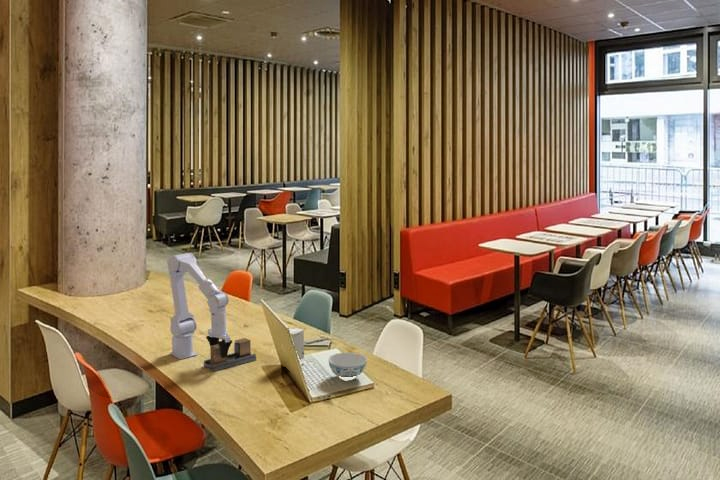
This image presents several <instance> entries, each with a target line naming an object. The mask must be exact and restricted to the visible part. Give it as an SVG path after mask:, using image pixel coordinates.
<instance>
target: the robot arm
mask: <svg viewBox="0 0 720 480" xmlns="http://www.w3.org/2000/svg"><path fill="white" fill-rule="evenodd" d="M194 255H195V254H193V253H192V252H186V253H181V254H176V255H175V254H174V255H173V254H172V255H171V256H169V258H168V259H167V260H166V262H167V270H168V275H169V280H170V287H171V293H172V301H173V305H174V306H173V308H174V315H173V316H172V317H171V318H170V329H169V330H170V333H171V334H172V338H171V349H172V350H171V351H172V352H170V353H169V354H170V355H172V356H173V357H175V358H177V359H179V360H182V359H187V358H192V357H195V356H198V353H196V352H195V351H194V343H193V341H194V334H195V332H196V330H197V322H196V320H195V316H194V314H193V313H191V312H189V308H188V307H189V306H188V301H187V292H186V287H185V279H184V275H185V274H186V273H188V274H189V275H190V276H191V277H192V278H193V279H194V280H195V281H196V283H198V284H199V286H198V289H199V290H200V292H201V293H202V294H203V295H204V297H205V298H206V299H207V306H208V307H209V313H210V320H211V323H210V324H211V325H210V326H211V328H209V329H207V334H208V335H207V336H206V337H205V338H206V340H207V342H208V345H209V346H213V345H217V344H218V345H219V347H220V353H221V358H225V357H227V355H228V354H229V351H230V350H229V349H230V347H231V344H232V343H233V340H232V339H231V337H230V336H229V334H228V332H227V315H226V314H227V313H226V306H228V305H229V296H228V295H227V293H226V292H224V291H222V290H219V288H218V287H217V286H216V285H215V283H214V282H213V280H211V279H207V278H206V277H205V274H204V273H203V271H202V270H201V269H200V267H199V265H198V264H197V258H196V257H195V256H194Z"/></svg>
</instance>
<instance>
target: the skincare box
mask: <svg viewBox="0 0 720 480" xmlns="http://www.w3.org/2000/svg"><path fill="white" fill-rule="evenodd" d="M288 330H290V333H291V336H292V339H293V342H294V345H295V348H296V351H297V354H298V356H299V359H300V360H301V359H303V358H304V359H305V337H304V336H305V335H304V334H305V330H304V329H302V328H296V327H293V328H289V329H288Z"/></svg>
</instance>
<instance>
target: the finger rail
mask: <svg viewBox="0 0 720 480" xmlns="http://www.w3.org/2000/svg"><path fill="white" fill-rule="evenodd" d="M233 345H234V346H233V348H234V349H233V351H234V352H232V353H228V354H227V361H225V362H221V363H217V364H212V363H211V358H209V359H205V360H204V361H203V367H204V368H206V369H207V370H209V371H211V372H213V373H214V372H218V371H222V370H226V369H229V368H232V367H237V366H240V365H243V364H247V363H251V362H254V361H257V355H256V353H251V352H252V351H251V346H252V345H251V339H249V338H246V337H244V338H239V339H236V340H234V344H233Z"/></svg>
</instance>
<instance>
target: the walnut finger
mask: <svg viewBox="0 0 720 480" xmlns="http://www.w3.org/2000/svg"><path fill="white" fill-rule="evenodd" d="M209 346H210V345H209ZM209 349H210V350H209V351H210V359H211V363H212V364H217V363H221V362H225V361H227V357H225V358H221V353H220V347H219V345H218V344H217V345H213V346H210V348H209Z"/></svg>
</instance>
